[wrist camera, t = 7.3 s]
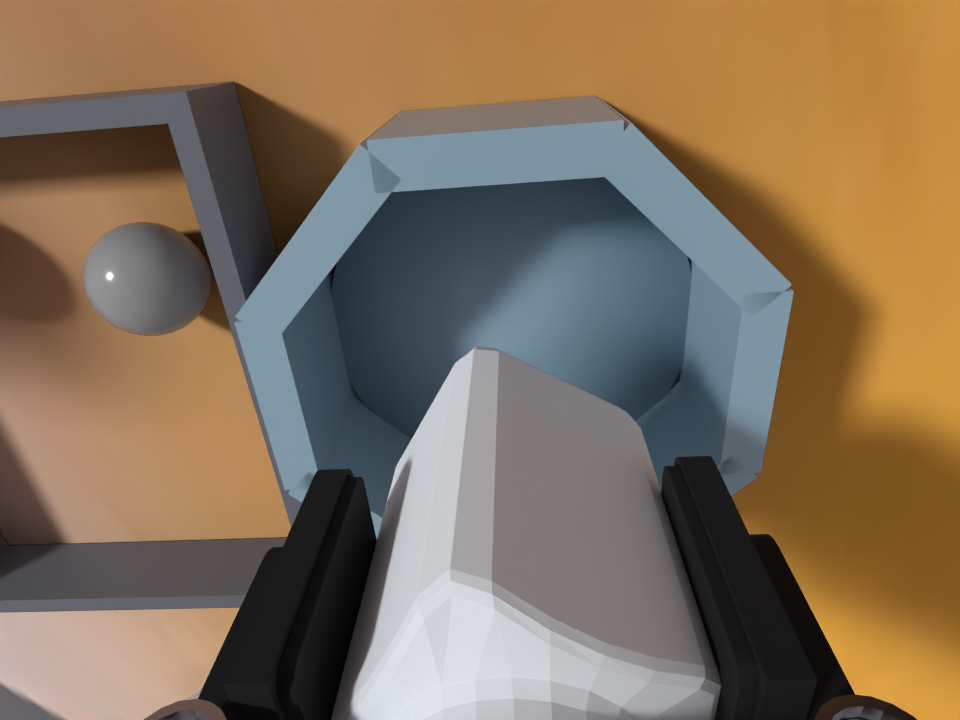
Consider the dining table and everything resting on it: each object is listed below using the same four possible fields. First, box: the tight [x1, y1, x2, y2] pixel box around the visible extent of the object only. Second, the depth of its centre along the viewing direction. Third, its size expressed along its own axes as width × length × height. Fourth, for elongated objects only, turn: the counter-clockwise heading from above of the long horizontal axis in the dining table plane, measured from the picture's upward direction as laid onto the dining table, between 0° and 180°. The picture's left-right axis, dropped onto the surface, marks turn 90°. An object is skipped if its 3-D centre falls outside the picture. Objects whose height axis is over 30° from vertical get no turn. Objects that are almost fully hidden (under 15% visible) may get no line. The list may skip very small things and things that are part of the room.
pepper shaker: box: [331, 346, 721, 720], centre depth 9 cm, size 4×4×10 cm
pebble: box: [83, 222, 211, 336], centre depth 16 cm, size 3×3×3 cm
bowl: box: [234, 96, 794, 539], centre depth 16 cm, size 12×12×4 cm
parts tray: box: [0, 82, 302, 612], centre depth 18 cm, size 16×14×3 cm
